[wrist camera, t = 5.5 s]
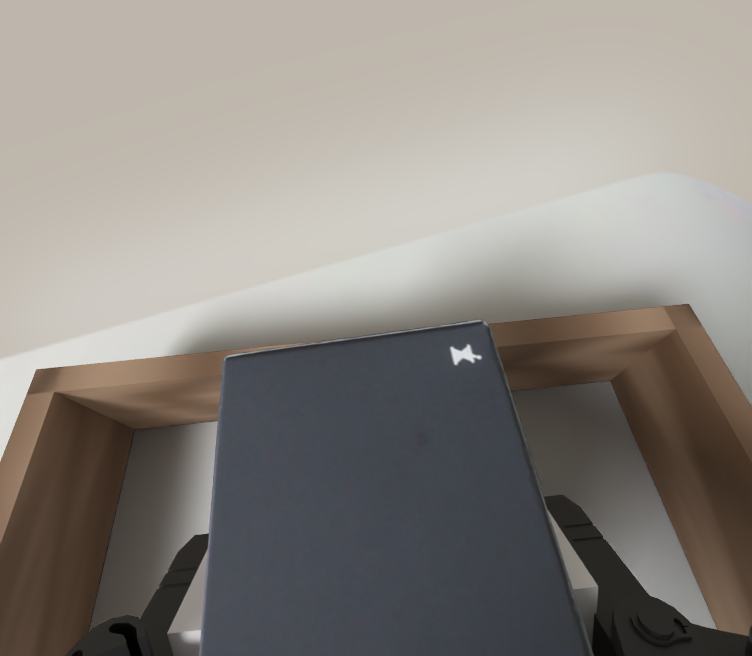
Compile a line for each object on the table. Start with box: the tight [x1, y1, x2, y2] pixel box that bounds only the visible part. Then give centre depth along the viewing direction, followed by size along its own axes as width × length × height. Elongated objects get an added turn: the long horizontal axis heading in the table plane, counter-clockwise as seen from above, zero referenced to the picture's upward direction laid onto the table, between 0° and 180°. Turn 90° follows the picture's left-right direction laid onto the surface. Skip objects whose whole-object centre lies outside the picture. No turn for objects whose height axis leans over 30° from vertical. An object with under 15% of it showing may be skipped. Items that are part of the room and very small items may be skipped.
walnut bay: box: [0, 304, 752, 656], centre depth 13 cm, size 25×15×5 cm, turn 95°
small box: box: [199, 320, 594, 656], centre depth 10 cm, size 11×6×10 cm, turn 7°
